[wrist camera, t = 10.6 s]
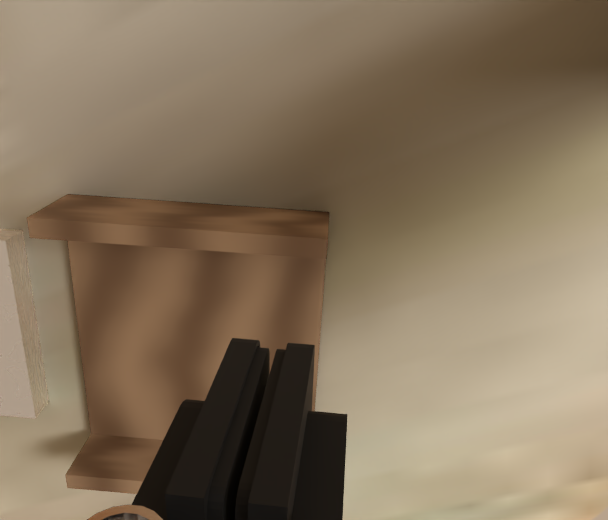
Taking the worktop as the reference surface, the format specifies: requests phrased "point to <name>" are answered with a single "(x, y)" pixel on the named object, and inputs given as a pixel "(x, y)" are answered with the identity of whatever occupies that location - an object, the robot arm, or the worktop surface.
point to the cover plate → (19, 334)
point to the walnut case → (175, 309)
